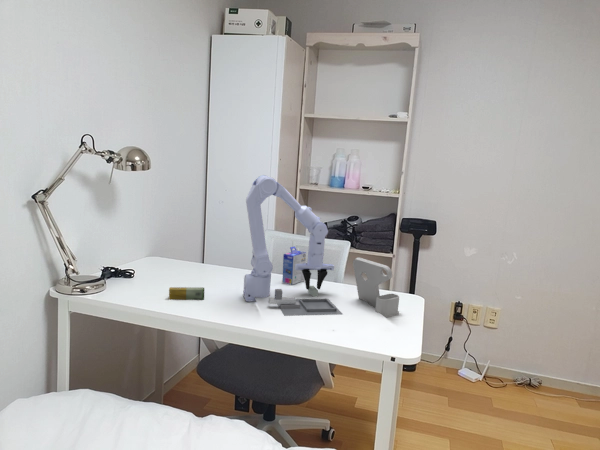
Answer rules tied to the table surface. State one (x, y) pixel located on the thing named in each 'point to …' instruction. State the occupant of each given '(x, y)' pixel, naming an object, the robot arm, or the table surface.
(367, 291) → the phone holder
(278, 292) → the brushed metal bar
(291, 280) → the ink cartridge box
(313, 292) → the cover
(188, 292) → the medication box
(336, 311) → the panel
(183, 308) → the table surface
